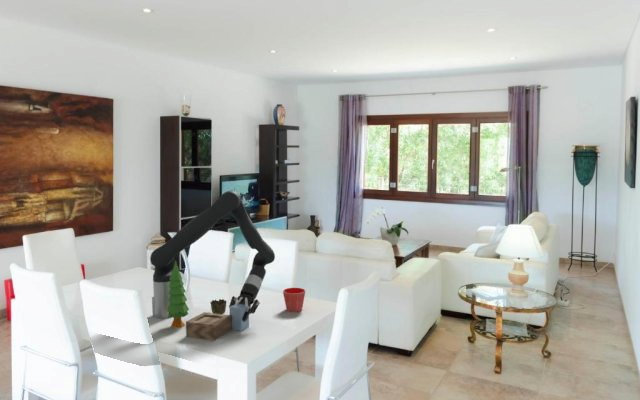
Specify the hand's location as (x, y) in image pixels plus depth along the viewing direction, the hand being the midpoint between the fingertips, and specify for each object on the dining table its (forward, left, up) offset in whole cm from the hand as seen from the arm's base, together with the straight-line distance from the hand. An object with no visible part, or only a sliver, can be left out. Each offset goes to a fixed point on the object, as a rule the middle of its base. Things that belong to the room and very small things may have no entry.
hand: (237, 319), depth 230 cm
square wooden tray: (-10, -6, -5) cm, 13 cm away
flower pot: (+20, +32, -5) cm, 37 cm away
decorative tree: (-27, +1, -5) cm, 28 cm away
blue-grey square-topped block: (+1, +2, -4) cm, 5 cm away
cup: (-13, +15, -5) cm, 20 cm away
